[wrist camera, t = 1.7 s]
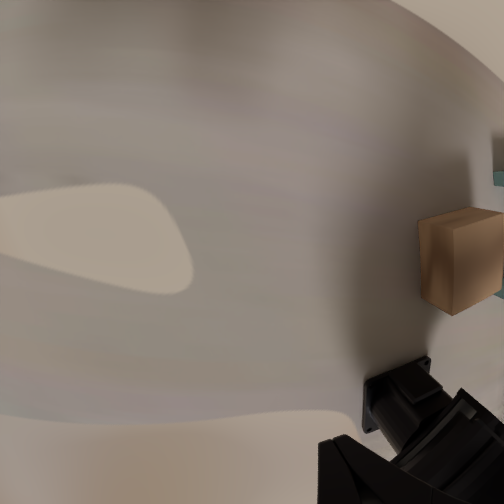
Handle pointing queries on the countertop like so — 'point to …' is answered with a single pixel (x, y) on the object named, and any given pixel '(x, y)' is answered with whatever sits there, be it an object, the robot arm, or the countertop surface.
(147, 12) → the countertop surface
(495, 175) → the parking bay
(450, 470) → the robot arm
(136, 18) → the countertop surface
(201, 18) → the countertop surface
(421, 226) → the walnut block
